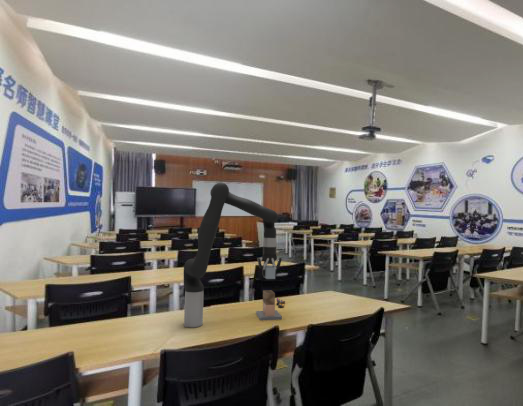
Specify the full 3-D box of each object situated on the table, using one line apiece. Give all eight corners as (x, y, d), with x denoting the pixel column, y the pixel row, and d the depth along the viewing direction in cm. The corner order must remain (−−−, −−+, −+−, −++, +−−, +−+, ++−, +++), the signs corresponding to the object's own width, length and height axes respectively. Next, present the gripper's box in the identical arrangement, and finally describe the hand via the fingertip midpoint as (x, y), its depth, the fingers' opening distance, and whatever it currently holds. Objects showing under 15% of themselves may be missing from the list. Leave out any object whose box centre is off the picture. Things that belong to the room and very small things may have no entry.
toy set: (271, 309, 200) (271, 301, 200) (266, 304, 211) (266, 296, 211) (290, 308, 203) (290, 300, 203) (284, 303, 214) (284, 296, 214)
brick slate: (266, 279, 181) (266, 268, 181) (263, 276, 189) (263, 265, 189) (275, 278, 182) (275, 267, 182) (271, 276, 190) (272, 265, 190)
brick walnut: (265, 304, 180) (266, 293, 180) (262, 301, 188) (263, 290, 188) (274, 304, 181) (274, 293, 181) (271, 300, 189) (271, 290, 189)
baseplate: (260, 320, 177) (260, 306, 178) (256, 313, 189) (256, 300, 189) (281, 319, 180) (282, 305, 180) (276, 312, 191) (276, 299, 192)
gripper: (280, 245, 191) (279, 274, 190) (255, 245, 188) (255, 275, 187) (283, 246, 183) (283, 277, 183) (258, 246, 181) (257, 277, 180)
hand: (269, 276), depth 185 cm, fingers closed on brick slate, 5 cm apart
